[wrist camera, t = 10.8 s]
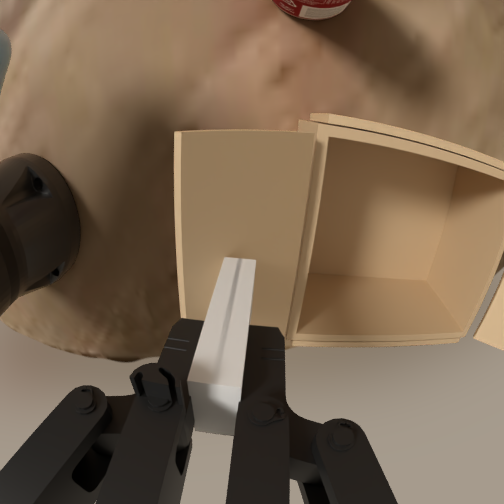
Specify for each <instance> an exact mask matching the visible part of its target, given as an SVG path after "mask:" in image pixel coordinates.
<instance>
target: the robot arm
mask: <svg viewBox="0 0 504 504" xmlns="http://www.w3.org/2000/svg"><path fill="white" fill-rule="evenodd" d="M10 58H11V42H10V39H9V37H8V36H7V34H6V33H5V32H4V31H3V30H1V29H0V93H1V89H2V86H3V82H4V79H5V75H6V72H7V69H8V66H9V62H10ZM79 245H80V224H79V217H78V212H77V209H76V205H75V202H74V199H73V197H72V194H71V192H70V190H69V188H68V186H67V184H66V183H65V181H64V179H63V178H62V176H61V175H60V174H59V172H58V171H57V170H56V169H55V168H54V167H53V166H52V165H51V164H50V163H49V162H47V161H46V160H45V159H43V158H41V157H39V156H37V155H34V154H29V153H23V154H18V155H15V156H12V157H10V158H7V159H4V160H3V161H1V162H0V316H1V315H2V314H3V313H4V312H5V311H6V310H7V309H8V307H9V306H10V305H11V304H12V303H13V302H14V301H15V300H16V299H17V298H18V297H21V296H23V295H25V294H28V293H30V292H33V291H35V290H38V289H40V288H43V287H45V286H48V285H50V284H52V283H54V282H56V281H57V280H58V279H60V278H61V277H62V276H63V275H64V274H65V273H66V272H67V271H68V270H69V269H70V267H71V266H72V265H73V263H74V261H75V259H76V257H77V254H78V250H79ZM255 268H256V260H252V259H241V258H230V257H224V260H223V263H222V266H221V270H220V273H219V276H218V279H217V282H216V286H215V289H214V292H213V295H212V298H211V302H210V305H209V308H208V311H207V315H206V318H205V321H202V320H194V319H187V318H181V319H180V320H179V321H178V322H177V323H176V324H175V325H174V326H172V329H171V331H170V334H169V336H168V339H167V341H166V343H165V346H164V348H163V351H162V353H161V355H160V358H159V360H158V363H149V364H145V365H142V366H140V367H139V368H137V369H135V370H134V371H133V373H132V374H131V375H130V380H131V383H132V386H133V389H134V391H135V394H133V395H127V396H105V394H104V393H103V392H102V391H101V390H100V389H99V388H97V387H94V386H80V387H78V388H75V389H74V390H72V391H71V392H70V393H69V394H68V395H67V396H66V397H65V398H64V399H63V400H62V401H61V402H60V403H59V405H58V406H57V407H56V408H55V409H54V410H53V411H52V412H51V413H50V414H49V416H48V417H47V418H46V419H45V420H44V421H43V423H41V425H40V426H39V427H38V428H37V429H36V430H35V432H33V434H32V435H31V436H30V437H29V438H28V439H27V441H26V442H25V443H24V444H23V445H22V446H21V447H20V449H19V450H18V451H17V452H16V453H15V454H14V456H13V457H12V458H11V459H10V460H9V461H8V463H7V464H6V465H5V466H4V468H3V469H2V470H1V471H0V504H94V503H95V502H96V504H180V500H181V495H182V491H183V486H184V481H185V477H186V472H187V467H188V463H189V459H190V454H191V450H192V438H191V436H192V432H193V427H195V431H200V432H206V433H214V434H222V435H230V436H234V439H233V448H232V456H231V464H230V473H229V481H228V489H227V497H226V504H289V493H290V491H289V490H290V489H289V488H290V486H289V485H290V479H293V480H296V481H297V482H298V485H299V488H300V491H301V495H302V498H303V501H304V504H398V503H397V501H396V499H395V497H394V494H393V492H392V490H391V488H390V486H389V484H388V481H387V479H386V477H385V475H384V473H383V471H382V469H381V466H380V464H379V462H378V460H377V458H376V456H375V454H374V452H373V449H372V447H371V445H370V443H369V441H368V439H367V437H366V435H365V433H364V431H363V430H362V429H361V427H360V426H359V425H357V424H356V423H354V422H353V421H351V420H347V419H342V418H341V419H332V420H330V421H327V422H325V423H324V424H321V423H317V422H314V421H310V420H307V419H304V418H302V417H300V416H298V415H297V414H295V413H294V412H293V411H292V410H291V409H290V407H289V406H288V404H287V402H286V395H285V340H284V336H283V335H282V333H281V331H280V329H279V328H278V327H269V326H258V325H250V323H251V314H252V303H253V292H254V280H255ZM96 500H97V501H96Z"/></svg>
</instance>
